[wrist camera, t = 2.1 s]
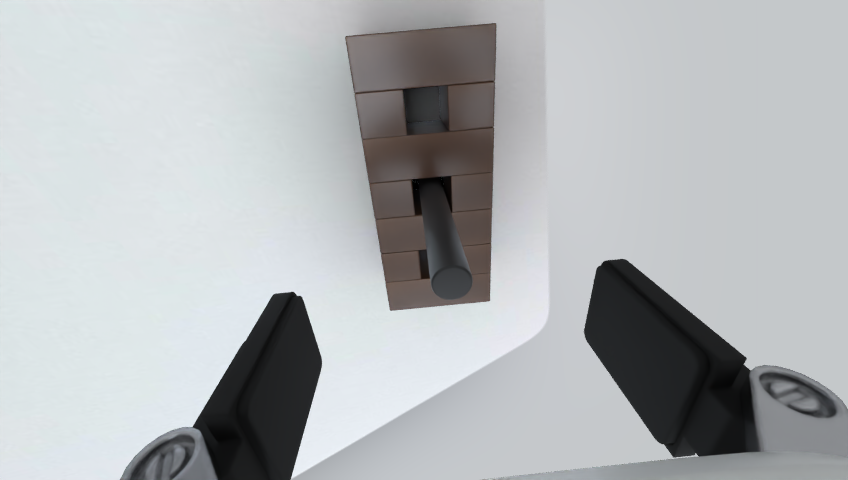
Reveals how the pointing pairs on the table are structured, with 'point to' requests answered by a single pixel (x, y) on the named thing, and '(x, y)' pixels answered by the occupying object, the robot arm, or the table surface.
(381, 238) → the pen stand
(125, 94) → the table surface
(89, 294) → the table surface
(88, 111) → the table surface
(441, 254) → the stylus
